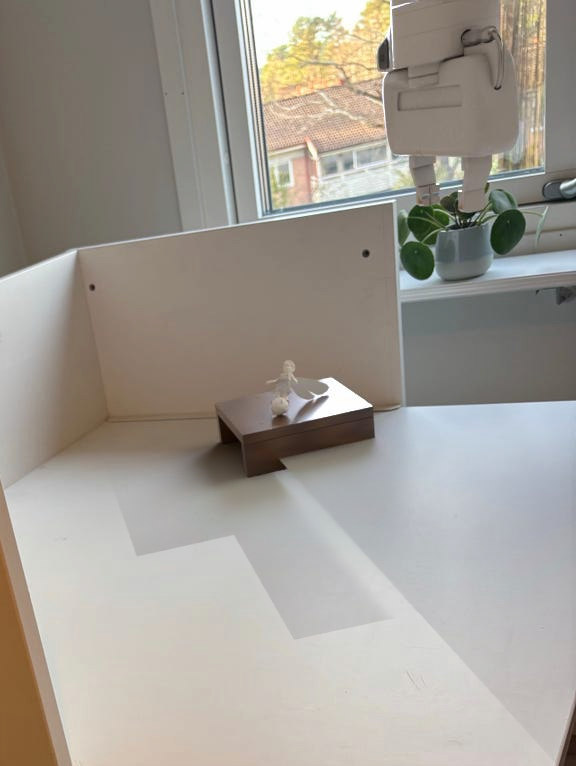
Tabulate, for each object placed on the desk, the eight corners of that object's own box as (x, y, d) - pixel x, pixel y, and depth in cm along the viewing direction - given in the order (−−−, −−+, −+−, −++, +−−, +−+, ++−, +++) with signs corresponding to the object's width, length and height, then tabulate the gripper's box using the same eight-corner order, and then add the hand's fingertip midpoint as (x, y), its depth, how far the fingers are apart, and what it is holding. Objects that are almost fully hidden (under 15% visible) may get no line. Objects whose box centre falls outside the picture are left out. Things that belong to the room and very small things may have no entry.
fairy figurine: (250, 410, 111) (261, 357, 112) (270, 439, 116) (281, 388, 118) (301, 408, 107) (312, 353, 109) (319, 438, 113) (329, 385, 115)
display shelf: (334, 415, 123) (331, 377, 120) (376, 448, 109) (373, 406, 107) (219, 441, 123) (214, 403, 120) (247, 477, 109) (242, 435, 107)
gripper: (542, 13, 74) (538, 207, 80) (433, 39, 92) (437, 195, 98) (462, 31, 74) (464, 223, 80) (369, 53, 92) (377, 208, 98)
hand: (448, 208), depth 89 cm, fingers open, 8 cm apart
